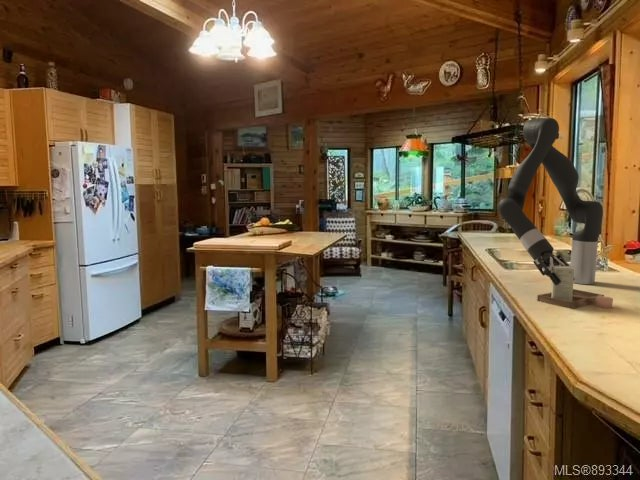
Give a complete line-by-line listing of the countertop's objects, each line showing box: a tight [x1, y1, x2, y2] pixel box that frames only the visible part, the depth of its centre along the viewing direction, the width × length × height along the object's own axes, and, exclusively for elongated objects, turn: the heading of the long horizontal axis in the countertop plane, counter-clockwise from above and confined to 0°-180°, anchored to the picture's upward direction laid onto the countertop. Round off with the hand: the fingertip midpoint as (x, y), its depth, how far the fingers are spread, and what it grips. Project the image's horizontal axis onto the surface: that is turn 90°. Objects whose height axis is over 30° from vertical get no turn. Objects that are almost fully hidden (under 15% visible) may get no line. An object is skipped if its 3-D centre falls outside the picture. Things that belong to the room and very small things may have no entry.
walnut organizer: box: [536, 288, 605, 310], centre depth 171 cm, size 21×12×2 cm, turn 125°
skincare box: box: [551, 265, 574, 302], centre depth 167 cm, size 6×4×12 cm
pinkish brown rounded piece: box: [594, 295, 614, 309], centre depth 164 cm, size 5×5×3 cm
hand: (565, 282), depth 167 cm, fingers open, 8 cm apart
